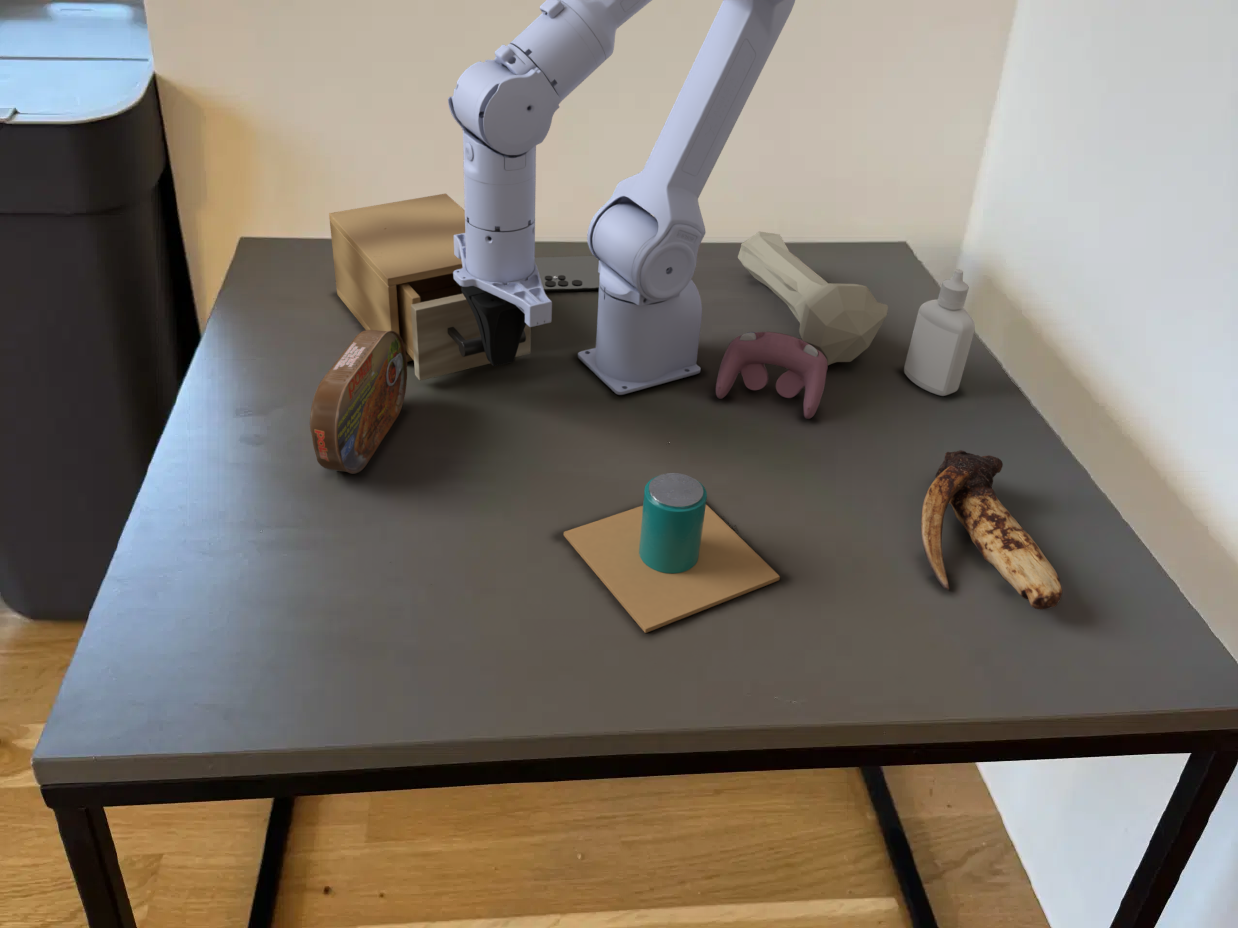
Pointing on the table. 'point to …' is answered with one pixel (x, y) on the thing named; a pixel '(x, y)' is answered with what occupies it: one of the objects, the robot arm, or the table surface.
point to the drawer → (442, 327)
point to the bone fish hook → (985, 528)
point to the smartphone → (568, 273)
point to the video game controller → (778, 350)
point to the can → (672, 522)
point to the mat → (665, 595)
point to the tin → (359, 400)
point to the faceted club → (815, 299)
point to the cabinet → (392, 253)
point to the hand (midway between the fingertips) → (500, 360)
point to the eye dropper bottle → (941, 339)
